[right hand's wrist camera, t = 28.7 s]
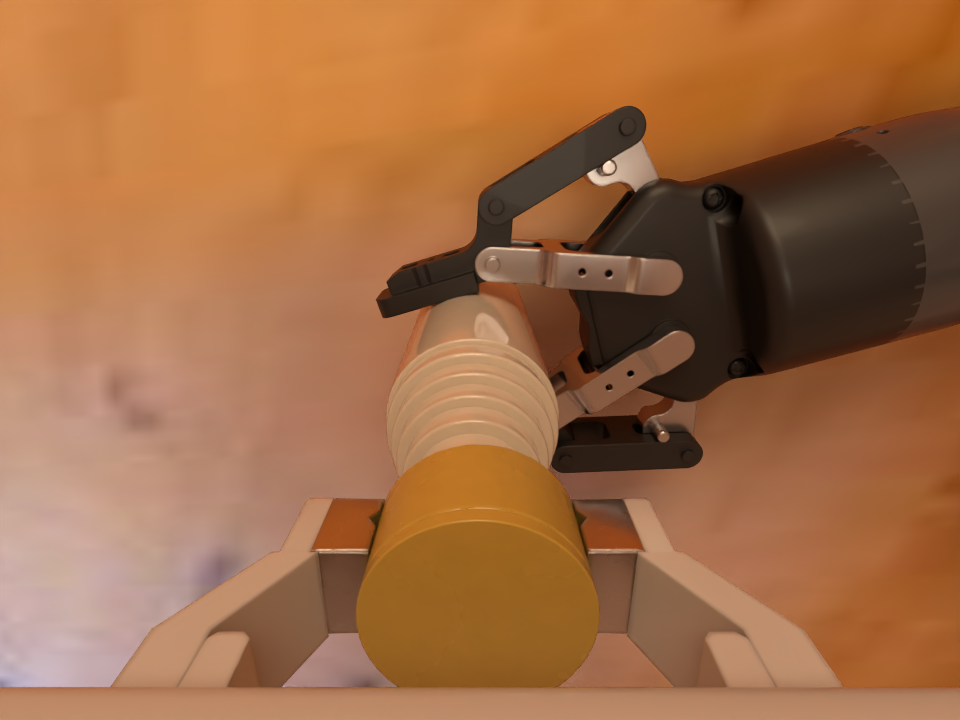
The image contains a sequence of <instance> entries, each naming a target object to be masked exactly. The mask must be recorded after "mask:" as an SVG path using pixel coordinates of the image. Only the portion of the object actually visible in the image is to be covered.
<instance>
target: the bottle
mask: <svg viewBox="0 0 960 720" xmlns="http://www.w3.org/2000/svg"><path fill="white" fill-rule="evenodd" d="M386 435H387V443H388V446H389V450H390V453H391V455H392V459H393V462H394V466H395V468H396V470H397V474H398V477H399V478H400V477H401V476H402V475H403V474H404V473H405V472H406V471H407V470H408V469H410V468H411V467H412V466H413V465H415V464H416V463H418V462H419V461H421V460H423V459H424V458H426V457H428V456H430V455H432V454H434V453H436V452H438V451H442V450H445V449H449V448H453V447H458V446H463V445H471V444H474V445H492V446H501V447H505V448H508V449H511V450H514V451H517V452H519V453H522V454H524V455H526V456H528V457H531V458H532V459H535V460H536V461H537V462H539V463H540V464H541V465H543V466H544V467H545V468H547V469H548V470H549V468H550V465H551V462H552V459H553V455H554V453H555V450H556V446H557V442H558V436H559V408H558V401H557V398H556V394H555V391H554V388H553V385H552V383H551V380H550V377H549V374H548V372H547V369H546V366H545V363H544V360H543V358H542V355H541V352H540V349H539V347H538V344H537V341H536V338H535V335H534V333H533V330H532V327H531V324H530V322H529V319H528V316H527V313H526V310H525V308H524V305H523V302H522V299H521V297H520V294H519V291H518V289H517V287H516V285H515V283H502V282H488V281H486V282H483V283H479V291H478V292H475V293H471V294H468V295H465V296H461V297H456V298H453V299H449V300H447V301H444V302H441V303H437V304H434V305H431V306H427V307H424V308H421V310H420V313H419V316H418V318H417V321H416V324H415V326H414V329H413V332H412V335H411V337H410V340H409V343H408V345H407V348H406V351H405V354H404V356H403V359H402V362H401V364H400V367H399V370H398V373H397V375H396V378H395V381H394V383H393V386H392V389H391V392H390V395H389V398H388V402H387V408H386Z"/></svg>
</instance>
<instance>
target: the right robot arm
mask: <svg viewBox="0 0 960 720" xmlns="http://www.w3.org/2000/svg"><path fill="white" fill-rule="evenodd" d="M384 503H385V499H347V498H336V499H334V498H310V499H309V500H307V501H306V502H305V504H304V506H303V508H302V510H301V512H300V514H299V516H298V518H297V520H296V522H295V523H294V525H293V527H292V529H291V531H290V533H289V535H288V537H287V539H286V541H285V543H284V544H283V546H282V548H281V550H280V552H271V553H270V554H268V555H266V556H265V557H263V558H262V559H260V560H259V561H257V562H256V563H254V564H252V565H251V566H249V567H248V568H246V569H245V570H243V571H241V572H240V573H238V574H237V575H235V576H234V577H232V578H231V579H229V580H227V581H226V582H224V583H223V584H221V585H220V586H218V587H217V588H215V589H213V590H212V591H210V592H209V593H207V594H206V595H204V596H202V597H201V598H199V599H198V600H196V601H195V602H193V603H192V604H190V605H188V606H187V607H185V608H184V609H182V610H181V611H179V612H177V613H176V614H174V615H173V616H171V617H170V618H168V619H167V620H165V621H163V622H162V623H160V624H159V625H157V626H156V627H154V628H153V629H151V631H150V632H149V633H148V635H147V636H146V638H145V639H144V640H143V642H142V643H141V645H140V646H139V647H138V649H137V650H136V652H135V653H134V654H133V656H132V657H131V659H130V660H129V661H128V663H127V664H126V666H125V667H124V668H123V670H122V671H121V673H120V674H119V675H118V677H117V678H116V680H115V681H114V682H113V684H112V685H111V687H0V720H960V687H843V686H842V684H841V683H840V681H839V680H838V678H837V677H836V675H835V674H834V673H833V671H832V670H831V668H830V667H829V665H828V664H827V662H826V661H825V660H824V658H823V657H822V655H821V654H820V652H819V651H818V650H817V648H816V647H815V645H814V644H813V642H812V641H811V639H810V638H809V637H808V635H807V634H806V632H805V631H804V630H803V629H802V628H800V627H799V626H797V625H795V624H794V623H792V622H791V621H789V620H788V619H786V618H785V617H783V616H782V615H780V614H778V613H777V612H775V611H774V610H772V609H771V608H769V607H768V606H766V605H765V604H763V603H761V602H760V601H758V600H757V599H755V598H754V597H752V596H751V595H749V594H748V593H746V592H745V591H743V590H741V589H740V588H738V587H737V586H735V585H734V584H732V583H731V582H729V581H728V580H726V579H724V578H723V577H721V576H720V575H718V574H717V573H715V572H714V571H712V570H711V569H709V568H708V567H706V566H704V565H703V564H701V563H700V562H698V561H697V560H695V559H694V558H692V557H691V556H689V555H687V554H686V553H684V552H676V551H675V549H674V547H673V545H672V543H671V541H670V539H669V538H668V536H667V534H666V532H665V530H664V528H663V526H662V524H661V522H660V520H659V518H658V516H657V514H656V512H655V510H654V509H653V507H652V505H651V503H650V501H649V500H648V499H646V498H625V499H601V500H571V503H572V506H573V510H574V513H575V517H576V520H577V523H578V526H579V530H580V535H581V538H582V542H583V545H584V549H585V553H586V556H587V559H588V562H589V566H590V569H591V573H592V577H593V581H594V584H595V587H596V591H597V594H598V600H599V606H600V621H599V628H598V633H627V636H628V637H629V638H630V639H631V640H632V642H633V643H634V644H635V645H636V646H637V647H638V648H639V649H640V650H641V651H642V652H643V653H644V655H645V656H646V657H647V658H648V659H649V660H650V661H651V662H652V663H653V664H654V665H655V666H656V668H657V669H658V670H659V671H660V672H661V673H662V674H663V675H664V676H665V677H666V678H667V679H668V681H669V682H670V683H671V684H672V685H673V686H674V687H282V686H283V684H284V683H285V682H286V681H287V680H288V679H289V678H290V677H291V676H292V675H293V674H294V673H295V672H296V671H297V670H298V668H299V667H300V666H301V665H302V664H303V663H304V662H305V661H306V660H307V659H308V658H309V657H310V656H311V655H312V653H313V652H314V651H315V650H316V649H317V648H318V647H319V646H320V645H321V644H322V643H323V642H324V641H325V640H326V638H327V637H328V634H329V633H358V629H357V625H356V604H357V597H358V594H359V590H360V587H361V583H362V580H363V576H364V573H365V569H366V566H367V562H368V559H369V556H370V552H371V549H372V545H373V542H374V538H375V535H376V531H377V527H378V524H379V520H380V517H381V514H382V510H383V507H384Z"/></svg>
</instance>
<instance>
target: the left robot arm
mask: <svg viewBox="0 0 960 720" xmlns="http://www.w3.org/2000/svg"><path fill="white" fill-rule="evenodd" d="M645 130H646V119H645V117H644V114H643V113H642V112H641V111H640V110H639V109H638V108H636V107H633V106H625V107H622V108H619V109H617V110H614V111H612V112H609V113H607V114H604V115H602V116H601V117H599V118H597V119H596V120H594V121H593V122H591V123H589V124H588V125H586V126H585V127H583V128H581V129H580V130H578V131H577V132H575V133H573V134H572V135H570V136H568V137H567V138H565V139H564V140H562V141H560V142H559V143H557V144H556V145H554V146H552V147H551V148H549V149H548V150H546V151H544V152H543V153H541V154H540V155H538V156H536V157H535V158H533V159H532V160H530V161H528V162H527V163H525V164H524V165H522V166H520V167H519V168H517V169H515V170H514V171H512V172H511V173H509V174H507V175H506V176H504V177H503V178H501V179H499V180H498V181H496V182H495V183H493V184H491V185H490V186H488V187H487V188H485V189H484V190H483V191H482V192H481V194H480V196H479V200H478V217H477V231H476V235H475V237H474V239H473V240H472V241H471V242H470V243H469V244H468V245H467V246H465V247H462V248H459V249H456V250H453V251H449V252H446V253H443V254H439V255H436V256H433V257H430V258H426V259H423V260H420V261H416V262H413V263H410V264H406V265H403V266H402V267H401V268H400V269H398V270H397V271H396V272H395V273H394V274H392V276H391V277H390V278H389V279H388V281H387V285H388V287H389V288H387V289H385V290H383V291H382V292H381V293H380V295H379V296H378V297H377V299H376V301H377V304H378V306H379V309H380V312H381V314H382V317H383V318H389V317H393V316H397V315H400V314H403V313H407V312H410V311H414V310H417V309H420V308H424V307H427V306H431V305H434V304H437V303H441V302H444V301H447V300H449V299H453V298H456V297H461V296H465V295H468V294H471V293H475V292H478V291H479V283H483V282H486V281H488V282H502V283H521V284H537V285H542V286H545V287H549V288H557V289H569V293H570V296H571V298H572V299H573V301H574V303H575V305H576V306H577V308H578V310H579V312H580V324H579V333H580V337H581V341H582V346H580V347H579V348H577V349H576V350H574V351H573V352H571V353H570V354H568V355H567V356H566V357H564V358H563V359H562V361H561V362H560V364H559V365H558V367H557V368H555V369H554V370H552V371H551V372H549V373H548V374H549V377H550V380H551V383H552V385H553V388H554V391H555V394H556V398H557V401H558V408H559V436H558V442H557V446H556V450H555V453H554V455H553V459H552V462H551V465H552V467H553V468H554V469H555V470H556V471H558V472H561V473H577V472H601V471H626V470H651V469H676V468H690V467H693V466H695V465H696V464H698V463H699V462H700V460H701V458H702V456H703V450H702V448H701V446H700V445H699V444H698V442H697V441H696V439H695V437H694V426H695V417H696V407H697V400H700V399H702V398H704V397H706V396H707V395H709V394H710V393H711V392H712V391H713V390H715V389H716V388H717V387H719V386H720V385H722V384H723V383H725V382H727V381H729V380H732V379H735V378H742V377H751V376H761V375H768V374H773V373H776V372H780V371H784V370H788V369H792V368H795V367H799V366H803V365H807V364H811V363H814V362H818V361H822V360H826V359H829V358H833V357H837V356H841V355H845V354H848V353H852V352H856V351H860V350H864V349H867V348H871V347H875V346H879V345H883V344H886V343H890V342H894V341H898V340H901V339H905V338H909V337H913V336H917V335H920V334H924V333H928V332H932V331H935V330H939V329H943V328H946V327H950V326H953V325H957V324H960V107H956V108H950V109H943V110H936V111H930V112H925V113H920V114H915V115H911V116H907V117H903V118H899V119H895V120H892V121H888V122H885V123H882V124H878V125H875V126H866V127H862V126H861V127H857V128H854V129H851V130H848V131H845V132H843V133H840V134H838V135H836V136H835V137H834V138H832V139H829V140H826V141H822V142H819V143H816V144H813V145H809V146H806V147H803V148H799V149H796V150H793V151H789V152H786V153H783V154H779V155H776V156H773V157H770V158H766V159H763V160H760V161H756V162H753V163H750V164H747V165H743V166H740V167H737V168H733V169H730V170H727V171H724V172H720V173H717V174H714V175H710V176H707V177H704V178H701V179H697V180H693V181H687V182H680V181H676V180H672V179H662V178H659V176H658V174H657V172H656V169H655V167H654V165H653V163H652V161H651V158H650V156H649V154H648V152H647V150H646V147H645V145H644V143H643V141H642V137H643V136H644V133H645ZM581 177H584V178H585V180H586V181H587V182H589V183H590V184H593V185H597V186H608V185H610V184H613V183H616V182H619V183H621V184H623V185H624V186H625V187H626V188H627V190H628V191H627V193H626V194H625V195H624V196H623V197H622V199H621V200H620V201H619V202H618V204H617V205H616V206H615V207H614V208H613V210H612V211H611V212H610V213H609V214H608V216H607V217H606V218H605V219H604V221H603V222H602V223H601V224H600V225H599V227H598V228H597V229H596V230H595V232H594V233H593V234H592V235H591V236H590V238H589V239H588V240H587V241H573V240H555V239H538V240H525V239H511V233H512V220H513V218H515V217H516V216H518V215H520V214H521V213H523V212H525V211H526V210H528V209H530V208H531V207H533V206H535V205H536V204H538V203H540V202H541V201H543V200H545V199H546V198H548V197H549V196H551V195H553V194H554V193H556V192H558V191H559V190H561V189H563V188H564V187H566V186H568V185H569V184H571V183H573V182H574V181H576V180H578V179H579V178H581ZM635 388H640V389H643V390H646V391H649V392H652V393H655V394H658V395H661V396H664V399H663V400H662V401H661V402H659V403H657V404H655V405H651V406H644V407H642V408H641V410H640V412H639V413H638V415H629V416H605V417H582V418H577V417H579V416H581V415H582V414H594V413H597V412H599V411H600V410H602V409H603V408H605V407H607V406H608V405H610V404H611V403H613V402H615V401H616V400H618V399H619V398H621V397H622V396H624V395H626V394H627V393H629V392H630V391H632V390H634V389H635Z"/></svg>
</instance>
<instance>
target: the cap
mask: <svg viewBox="0 0 960 720" xmlns="http://www.w3.org/2000/svg"><path fill="white" fill-rule="evenodd" d="M599 621H600V606H599V600H598V594H597V591H596V587H595V584H594V581H593V577H592V573H591V569H590V566H589V562H588V559H587V556H586V553H585V549H584V545H583V542H582V538H581V535H580V530H579V526H578V523H577V520H576V517H575V513H574V510H573V506H572V503H571V500H570V498H569V496H568V494H567V492H566V490H565V488H564V487H563V486H562V484H561V483H560V482H559V480H558V479H557V478H556V477H555V476H554V475H553V474H552V473H551V472H550V471H549V470H548V469H547V468H545V467H544V466H543V465H541V464H540V463H539V462H537V461H536V460H535V459H532V458H531V457H528V456H526V455H524V454H522V453H519V452H517V451H514V450H511V449H508V448H505V447H501V446H492V445H474V444H471V445H463V446H458V447H453V448H449V449H445V450H442V451H438V452H436V453H434V454H432V455H430V456H428V457H426V458H424V459H423V460H421V461H419V462H418V463H416V464H415V465H413V466H412V467H411V468H410V469H408V470H407V471H406V472H405V473H404V474H403V475H402V476H401V477H400V478H399V479H398V480H397V482H396V483H395V484H394V486H393V487H392V489H391V490H390V492H389V494H388V496H387V498H386V500H385V503H384V507H383V510H382V514H381V517H380V520H379V524H378V527H377V531H376V535H375V538H374V542H373V545H372V549H371V552H370V556H369V559H368V562H367V566H366V569H365V573H364V576H363V580H362V583H361V587H360V590H359V594H358V597H357V604H356V625H357V629H358V634H359V638H360V640H361V643H362V646H363V648H364V650H365V652H366V653H367V655H368V657H369V659H370V660H371V661H372V663H373V664H374V665H375V666H376V668H377V669H378V670H379V671H380V672H381V673H382V674H383V675H384V676H385V677H386V678H387V679H388V680H390V681H391V682H392V683H394V684H395V685H396V686H398V687H558V686H559V685H561V684H562V683H563V682H565V681H566V680H567V679H568V678H569V677H571V676H572V675H573V674H574V673H575V672H576V671H577V669H578V668H579V667H580V666H581V665H582V663H583V662H584V661H585V659H586V658H587V656H588V655H589V653H590V651H591V649H592V647H593V645H594V642H595V639H596V636H597V633H598V628H599Z"/></svg>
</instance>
